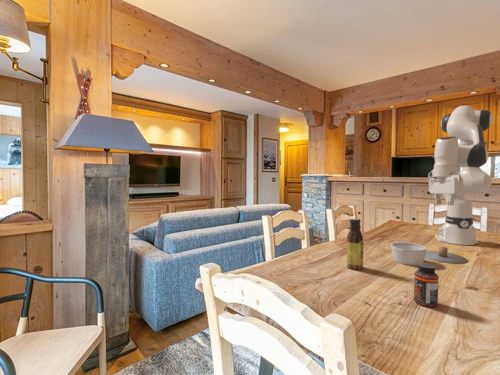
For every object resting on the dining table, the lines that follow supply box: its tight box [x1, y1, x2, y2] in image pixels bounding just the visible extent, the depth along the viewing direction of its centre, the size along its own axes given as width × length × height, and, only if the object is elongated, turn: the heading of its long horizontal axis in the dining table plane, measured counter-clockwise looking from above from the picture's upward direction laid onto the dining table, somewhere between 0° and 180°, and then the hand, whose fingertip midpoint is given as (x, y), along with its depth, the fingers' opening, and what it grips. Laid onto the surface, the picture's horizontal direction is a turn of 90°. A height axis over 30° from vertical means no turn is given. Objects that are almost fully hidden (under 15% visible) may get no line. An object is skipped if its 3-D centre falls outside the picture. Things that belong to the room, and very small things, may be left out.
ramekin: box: [390, 241, 427, 266], centre depth 118 cm, size 13×13×7 cm
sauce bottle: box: [346, 218, 364, 270], centre depth 110 cm, size 6×6×20 cm
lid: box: [424, 246, 468, 265], centre depth 124 cm, size 17×17×5 cm
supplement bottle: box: [413, 262, 440, 308], centre depth 80 cm, size 6×6×11 cm
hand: (444, 204), depth 120 cm, fingers open, 8 cm apart
